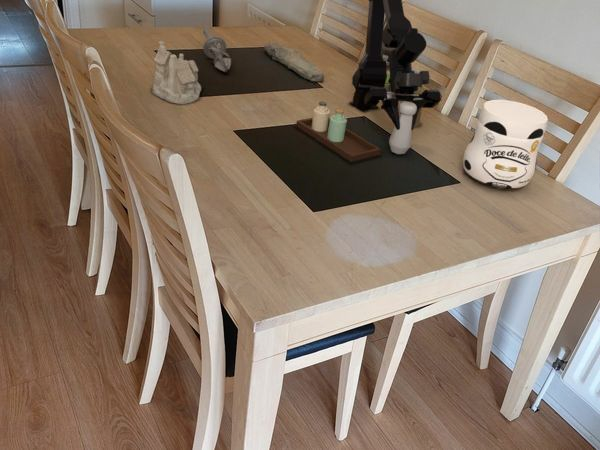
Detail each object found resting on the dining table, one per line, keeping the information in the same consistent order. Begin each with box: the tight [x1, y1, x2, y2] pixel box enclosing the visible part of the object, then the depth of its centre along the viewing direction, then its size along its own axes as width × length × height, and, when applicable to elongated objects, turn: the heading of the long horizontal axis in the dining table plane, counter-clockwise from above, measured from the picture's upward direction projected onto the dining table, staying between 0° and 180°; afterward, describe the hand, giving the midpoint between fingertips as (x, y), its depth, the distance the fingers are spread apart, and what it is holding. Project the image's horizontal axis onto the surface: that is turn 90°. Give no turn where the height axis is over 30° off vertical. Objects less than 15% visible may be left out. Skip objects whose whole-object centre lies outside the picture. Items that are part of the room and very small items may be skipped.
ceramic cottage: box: [151, 40, 202, 105], centre depth 172 cm, size 16×16×15 cm
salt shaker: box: [388, 101, 417, 155], centre depth 151 cm, size 6×6×13 cm
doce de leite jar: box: [462, 99, 549, 191], centre depth 146 cm, size 17×17×18 cm
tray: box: [295, 117, 382, 163], centre depth 158 cm, size 10×23×2 cm, turn 37°
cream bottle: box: [311, 101, 331, 132], centre depth 161 cm, size 4×4×7 cm
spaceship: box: [202, 25, 232, 73], centre depth 202 cm, size 8×35×8 cm
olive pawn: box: [405, 86, 426, 128], centre depth 173 cm, size 6×6×11 cm
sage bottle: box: [327, 108, 348, 142], centre depth 156 cm, size 4×4×8 cm
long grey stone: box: [263, 41, 325, 82], centre depth 207 cm, size 35×5×10 cm
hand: (405, 129), depth 150 cm, fingers closed on salt shaker, 3 cm apart
